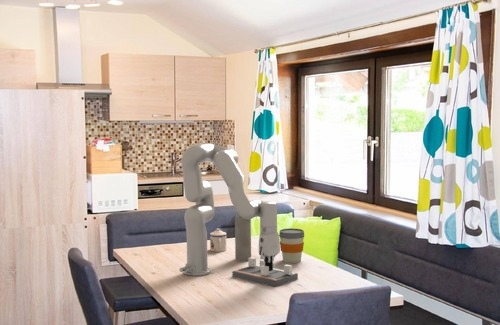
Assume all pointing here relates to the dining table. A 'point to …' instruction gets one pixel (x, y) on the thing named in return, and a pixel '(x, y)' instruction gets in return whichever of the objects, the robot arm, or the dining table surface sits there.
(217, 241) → the teacup with lid
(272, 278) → the grey slider switch panel
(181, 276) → the dining table surface
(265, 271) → the block
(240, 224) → the thermos bottle
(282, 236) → the reusable coffee cup
